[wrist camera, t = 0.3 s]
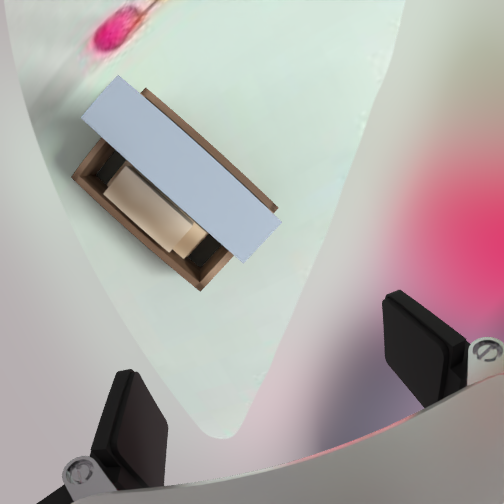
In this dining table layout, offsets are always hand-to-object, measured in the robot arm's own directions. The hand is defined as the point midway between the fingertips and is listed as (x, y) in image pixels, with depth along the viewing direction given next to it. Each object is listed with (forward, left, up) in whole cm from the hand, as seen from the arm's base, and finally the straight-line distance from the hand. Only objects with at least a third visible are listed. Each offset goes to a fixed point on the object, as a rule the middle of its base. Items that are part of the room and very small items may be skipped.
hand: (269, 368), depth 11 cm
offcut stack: (+4, -8, -33) cm, 34 cm away
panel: (-2, -8, -33) cm, 34 cm away
